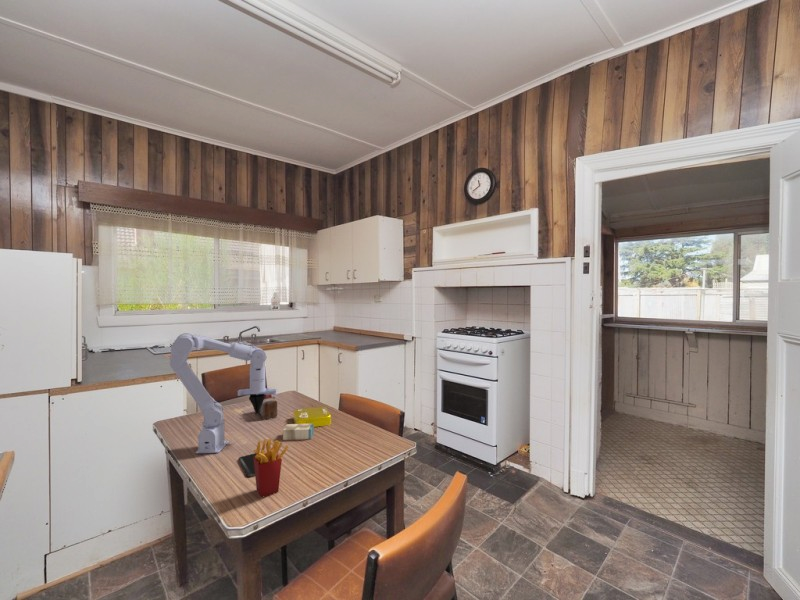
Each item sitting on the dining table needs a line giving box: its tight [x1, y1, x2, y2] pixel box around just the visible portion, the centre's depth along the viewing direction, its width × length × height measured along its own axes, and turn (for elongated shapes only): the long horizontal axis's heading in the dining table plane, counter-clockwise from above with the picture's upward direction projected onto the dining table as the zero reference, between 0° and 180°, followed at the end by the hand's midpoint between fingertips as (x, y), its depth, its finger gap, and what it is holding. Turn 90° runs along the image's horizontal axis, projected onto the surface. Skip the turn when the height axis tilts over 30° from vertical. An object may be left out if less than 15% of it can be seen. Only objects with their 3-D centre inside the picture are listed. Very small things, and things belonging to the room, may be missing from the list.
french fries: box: [253, 438, 290, 498], centre depth 103 cm, size 9×8×15 cm
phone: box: [238, 451, 261, 479], centre depth 117 cm, size 8×1×15 cm
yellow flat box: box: [293, 406, 332, 428], centre depth 158 cm, size 15×15×5 cm
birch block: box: [282, 423, 315, 441], centre depth 141 cm, size 6×4×11 cm
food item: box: [259, 395, 278, 420], centre depth 166 cm, size 14×8×10 cm, turn 35°
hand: (257, 413), depth 138 cm, fingers closed
